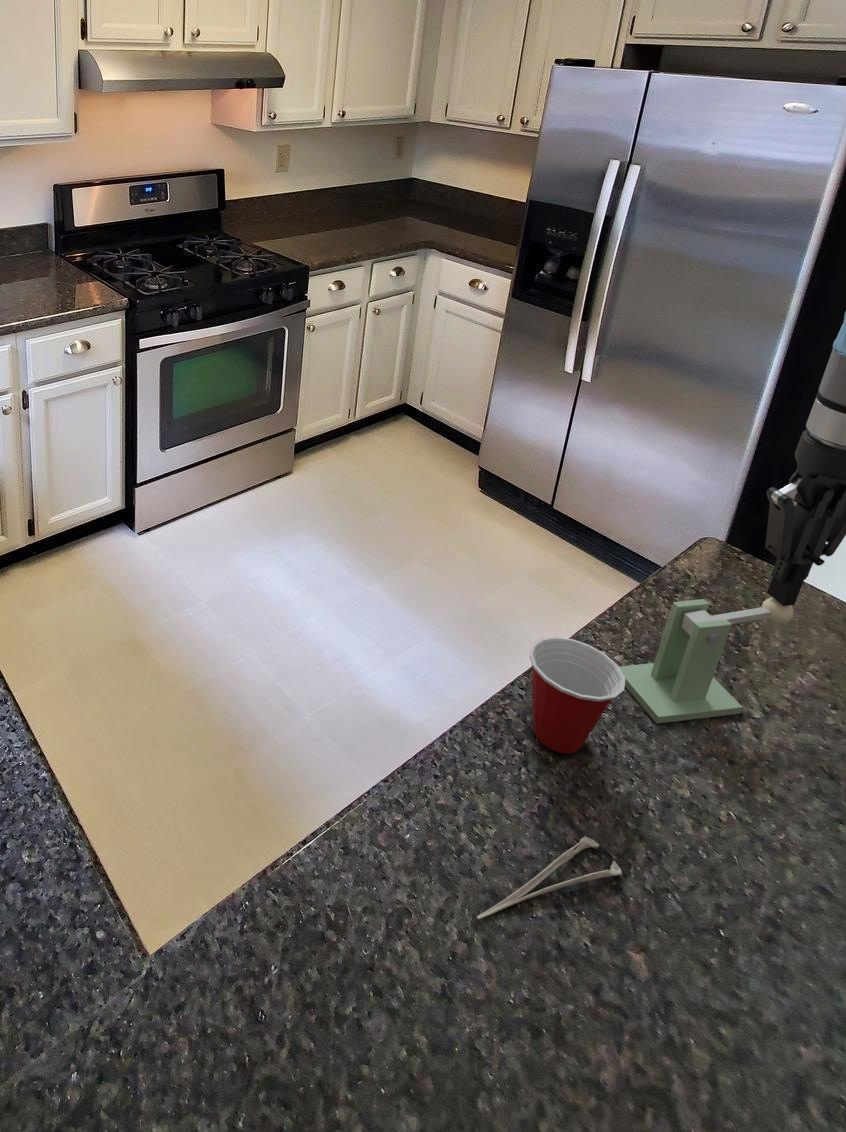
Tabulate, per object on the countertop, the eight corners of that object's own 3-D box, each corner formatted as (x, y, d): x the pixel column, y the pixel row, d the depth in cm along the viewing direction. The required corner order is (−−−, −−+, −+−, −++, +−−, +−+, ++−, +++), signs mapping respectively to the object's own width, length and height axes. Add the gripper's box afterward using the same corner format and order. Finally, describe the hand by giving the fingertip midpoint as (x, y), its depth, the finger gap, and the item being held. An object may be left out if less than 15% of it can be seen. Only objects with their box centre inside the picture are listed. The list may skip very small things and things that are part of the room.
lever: (776, 610, 106) (782, 589, 105) (797, 627, 103) (803, 606, 102) (677, 626, 105) (681, 606, 104) (695, 644, 102) (700, 624, 101)
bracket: (692, 664, 113) (719, 586, 107) (740, 713, 105) (772, 632, 99) (613, 673, 111) (636, 594, 106) (656, 723, 103) (683, 641, 98)
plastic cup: (625, 751, 100) (647, 678, 94) (563, 783, 95) (583, 710, 90) (554, 692, 108) (572, 623, 103) (495, 719, 104) (510, 649, 99)
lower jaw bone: (588, 839, 89) (591, 828, 88) (623, 878, 85) (627, 866, 84) (460, 905, 84) (462, 893, 83) (491, 949, 80) (493, 937, 79)
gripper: (864, 420, 97) (802, 576, 107) (767, 427, 96) (713, 584, 106) (923, 449, 90) (851, 613, 100) (819, 457, 89) (756, 622, 99)
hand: (780, 598), depth 103 cm, fingers closed
